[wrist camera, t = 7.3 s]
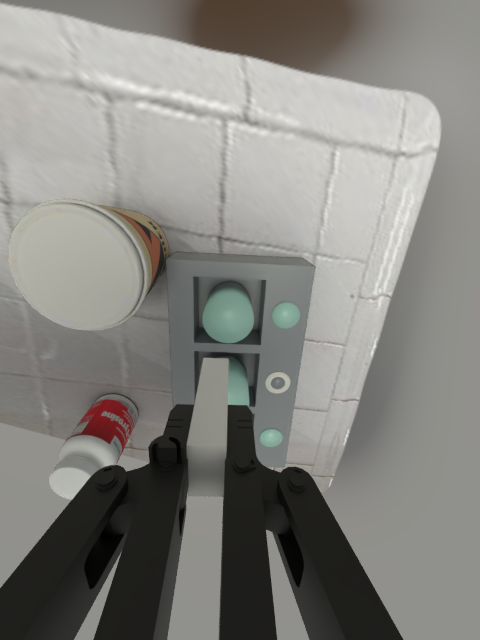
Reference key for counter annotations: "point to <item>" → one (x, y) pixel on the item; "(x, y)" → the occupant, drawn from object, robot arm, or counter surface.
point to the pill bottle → (93, 443)
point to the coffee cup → (86, 262)
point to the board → (256, 348)
